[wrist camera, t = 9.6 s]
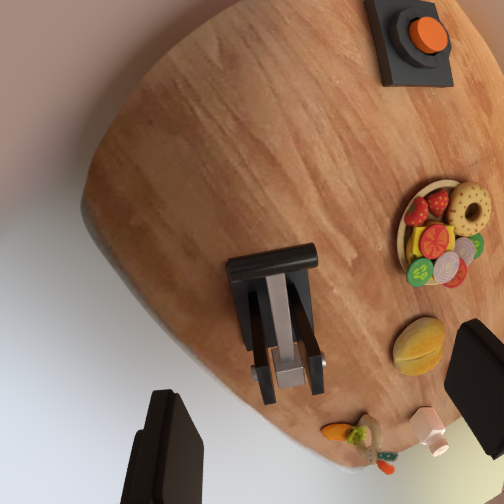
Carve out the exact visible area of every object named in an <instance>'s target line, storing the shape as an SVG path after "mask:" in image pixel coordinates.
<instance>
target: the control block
mask: <svg viewBox="0 0 504 504" xmlns="http://www.w3.org/2000/svg"><path fill="white" fill-rule="evenodd" d="M364 4H365V8H366V11H367V15H368V18H369V22H370V26H371V30H372V34H373V38H374V43H375V47H376V51H377V56H378V61H379V66H380V71H381V76H382V81H383V86H384V87H441V88H443V87H453V86H454V84H453V78H452V73H451V67H450V62H449V55H450V51H451V43H450V39H449V35H448V32H447V30H446V29H445V27H444V26H443V24H442V23H441V22H440V20H439V17H438V14H437V10H436V7H435V4H434V3H431V2H425V1H420V0H364ZM423 17H431V18H433V19H435V20H437V21H438V22H439V23H440V24H441V25H442V26H443V28H444V30H445V32H446V34H447V39H448V41H447V46H446V47H445V49H443V50H441V51H438V52H434V53H424V52H422V51H420V50H419V49H417V48H416V47H415V46H414V44H413V43H412V41H411V39H410V36H409V26H410V24H411V23H412V22H414V21H416V20H418V19H420V18H423Z"/></svg>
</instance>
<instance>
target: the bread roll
mask: <svg viewBox="0 0 504 504" xmlns="http://www.w3.org/2000/svg"><path fill="white" fill-rule="evenodd" d="M445 334H446V329H445V325H444V324H443V322H442V321H440V320H438V319H435V318H429V317H423V318H420V319H418V320H416V321H414V322H413V323H411V324H410V325H409V326H407V328H406V329H405V330H404V331H403V332H402V333H401V334H400V336H399V337H398V338H397V340H396V342H395V344H394V348H393V358H394V365H395V367H396V368H397V369H398V370H399V371H400V372H401V373H403V374H406V375H412V376H414V375H420V374H423V373H426V372H428V371H430V370H431V369H433V368H434V367H435V366H436V365H437V363H438V362H439V361H440V359H441V357H442V355H443V353H444V342H443V340H444V337H445Z"/></svg>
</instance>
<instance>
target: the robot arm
mask: <svg viewBox="0 0 504 504" xmlns="http://www.w3.org/2000/svg"><path fill="white" fill-rule="evenodd" d="M444 388H445V391H446V392H447V394H448V395H449V397H450V398H451V400H452V401H453V403H454V404H455V406H456V407H457V409H458V410H459V412H460V413H461V415H462V416H463V418H464V419H465V421H466V422H467V424H468V426H469V427H470V429H471V430H472V432H473V434H474V435H475V437H476V438H477V440H478V441H479V443H480V445H481V446H482V448H483V450H484V451H485V453H486V454H487V455H491V457H492V458H493V460H495V459H497V458H498V457H500V456H501V455H503V454H504V344H503V343H502V342H501V341H500V340H499V339H498V338H497V337H496V336H495V335H494V334H493V333H492V332H491V331H490V330H489V329H488V328H487V327H486V326H485V325H484V324H483V323H482V322H481V321H480V320H478V319H476V318H474V319H472V320H469V321H467V322H464V323H462V324H461V326H460V329H458V331H457V335H456V339H455V344H454V348H453V352H452V356H451V360H450V364H449V367H448V371H447V375H446V378H445V382H444ZM203 459H204V445H203V441H202V439H201V437H200V435H199V433H198V431H197V429H196V427H195V425H194V423H193V421H192V419H191V417H190V415H189V413H188V411H187V409H186V407H185V405H184V403H183V401H182V399H181V397H180V395H179V394H178V393H174V392H173V391H172V390H171V389H167V390H154V391H153V392H152V395H151V400H150V404H149V408H148V412H147V416H146V421H145V425H144V429H143V430H138V431H137V433H136V435H135V438H134V442H133V446H132V450H131V455H130V460H129V464H128V468H127V473H126V477H125V482H124V487H123V492H122V497H121V502H120V504H202V482H203ZM485 504H504V483H503V488H502V492H501V494H499V495H498V496H496V497H494V498H493V499H491V500H490V501H488V502H486V503H485Z"/></svg>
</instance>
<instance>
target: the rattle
mask: <svg viewBox="0 0 504 504" xmlns="http://www.w3.org/2000/svg"><path fill="white" fill-rule="evenodd" d="M367 427H369V428H370V430H371V434H372V443H371V445H370V446H369V447H368V448H367V447H366V445H365V440H364V439H365V436H366V429H367ZM321 433H322V434H323V436H324V437H326V438H327V439H328V440H339V441H348V443H349V444H353V445H355V446H356V449H357V452H358V454H359V455H360V456H361V457H363V458H365V459H366V461H367V462H368V463H369V464H371V465H375V464H377V465H378V467H379V469H381V470H382V471H383V472H384V473H386V474H387V475H390V474H392V473H393V472H394V471H395V468H394V466H392V465H390V464H388V463H386V462H385V461H388V462H394V461H396V460H397V459H398V454H397V453H396V452H389V451H383V452H382V448H381V447H382V441H383V435H382V430H381V427H380V424H379V423H378V421H377V420H376V419H375V418H373V417H371V415H369V414H365V415H363V416H362V417H361V419H360V420H359V422H358V424H357V425H356V426H351V425H347V424H344V423H343V424H331V425H329V426H325V427H324V428H323V429H322V430H321Z"/></svg>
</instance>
